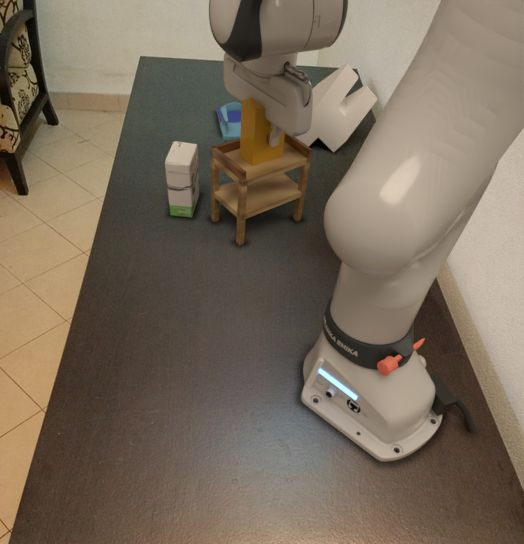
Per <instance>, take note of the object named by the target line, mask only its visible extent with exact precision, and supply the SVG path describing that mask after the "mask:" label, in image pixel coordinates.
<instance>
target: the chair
mask: <svg viewBox="0 0 524 544" xmlns="http://www.w3.org/2000/svg"><path fill="white" fill-rule="evenodd" d="M220 107H221V108H220V111H221V114H222V118H223V120H222V122H220V123H219V128H220V132H221V136H222V142H223V143H225V142H228V141H232V140H235V139H238V138H240V135H241V122H237V123H228V118H227V112H230V111H239V112H241V108H242V102H236V101H234V102H228V103H226V104H224V105H222V106H220Z"/></svg>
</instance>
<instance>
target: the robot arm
mask: <svg viewBox="0 0 524 544" xmlns="http://www.w3.org/2000/svg"><path fill="white" fill-rule="evenodd" d="M348 9H349V0H209V1H208V20H209V26H210V31H211V34H212V37H213V39H214V41H215V42H216V43H217V45H218V46H219V47H220V48H221V50H223V51H224V54H223V62H222V63H223V66H222V67H223V70H222V73H223V77H222V78H223V79H222V80H223V85H224V89H225V91H226V93H228V94H229V95H231V96H232V97H234V98H236V100H238V101H239V102H240V103H242V100H244V99H248V98H251V99H253V100H254V101H256V102H257V103H259V104H260V105H262V106H263V107H265V109H264V118H265V119H267V120H268V121H270V122H271V128H272V129H273V130H272V132H271V134H267V137H266V139H267V140H266V143H267V144H268V145H270V146H271V147H275V146H277V145H278V144H279V137H280V135H281V134H282V132H283V131H284V132H285V133H287V134H288V135H290V136H291V137H296V136H299V135H302V134H305V133H307V132H308V131H309V130H310V128H311V122H312V108H313V93H312V89H313V85H312V83H311V80H310V79H309V75H308V73H307V72H306V71H304V70H300V69H299V68H298V67H297V62H298V53H303V52H304V53H306V52H313V51H320V50H324V49H326V48H327V49H328V48H330V47H332V46H333V45H334V43H336V41H337V40H338V39H339V37H340V36H341V34H342V31H343V29H344V27H345V24H346V20H347V15H348ZM523 129H524V0H440V1H439V4H438V7H437V9H436V11H435V13H434V15H433V17H432V20H431V21H430V24H429V27H428V29H427V31H426V33H425V35H424V37H423V39H422V42H421V43H420V45H419V47H418V49H417V51H416V53H415V55H414V57H413V58H412V60H411V62H410V64H409V65H408V67H407V68H406V71H405V72H404V74H403V75H402V77H401V78H400V80H399V82H398V84H397V85H396V87H395V88H394V89H393V91H392V93H391V95H390V97H389V98H388V100H387V102H386V103H385V105H384V107H383V108H382V110H381V112H380V113H379V115H378V117H377V119H375V122H374V124H373V126H372V128H371V129H370V131H369V132H368V135H367V136H366V139H365V140H364V142H363V144H362V145H361V148H360V150H359V151H358V153H357V154H356V157H355V158H354V160H353V162H352V164H351V165H350V167H349V168H348V170H347V171H346V173H345V174H344V176H343V177H342V179H341V180H340V181H339V183H338V184H337V186H336V187H335V188H334V190H333V192H332V193H331V195H330V197H329V198H328V200H327V202H326V203H325V207H324V211H323V229H324V232H325V237H326V239H327V242H328V244H329V246H330V248H331V250H332V251H333V252H334V254H335V255H336V257H337V258H338V259H339V260H340V261H341V264H340V267H339V271H338V275H337V278H336V282H335V286H334V289H333V293H332V295H331V296H330V298H329V299H328V301H327V304H326V308H325V311H324V314H323V318H322V323H321V324H322V325H321V326H322V329H321V332H320V334H319V336H318V338H317V340H316V341H315V343H314V345H313V347H312V348H311V349H310V350H309V352H308V353H307V354H306V357H305V359H304V361H303V366H302V374H303V381H304V383H303V387H302V390H301V394H300V401H301V403H302V404H303V405H304V406H306V407H307V408H309V410H311V411H313V412H314V414H316V415H317V416H319V417H320V418H322V419H323V420H324V421H325V422H326V423H328V424H330V425H331V426H332V427H333V428H335V429H336V430H337V431H339V433H342V434H343V435H344V436H345V437H347V438H348V439H349V440H351V441H352V442H353V443H355V444H356V445H357V446H358V447H359V448H361V449H362V450H363V451H365V452H366V453H367V454H369V455H370V456H372V457H373V458H374V459H375V460H377V461H379V462H383V463H384V462H394V461H399V460H401V459H402V460H403V459H404V458H406V457H408V456H410V455H412V454H414V453H415V452H416V451H418V450H419V449H421V448H422V447H423V446H424V445H426V444H427V443H428V442H429V441H430V440H431V439H432V437H434V435H435V434H436V432H437V431H438V429H439V427H440V425H441V423H442V421H443V415H444V414H447V413H450V412H451V411H452V409H453V408H454V406H456V407H457V408H458V409H459V410H460V412H461V413H462V416H463V417H464V420H465V423H466V427H467V430H468V432H470V433H472V432H475V431H476V427H475V423H474V421H473V418H472V415H471V413H470V411H469V410H468V407H467V406H466V405H465V403H464V402H463V401H462V400H461V399H459V397H457V396H456V395H454V393H453V391H452V390H451V389H450V388H449V387H448V385H447V383H445V381H444V380H443V378H442V377H441V376H440V375H439V374H438V372H435V373H433V374H429V372H428V370H427V361H426V359H425V357H424V356H422V355H420V354H418V351H417V350H419V348H421V346H422V345H423V343H424V341H425V340H426V338H425V337H423V338H421V339H419V340H418V341H417V342H415V325H414V321H415V319H416V317H417V315H418V313H419V311H420V309H421V307H422V305H423V303H424V301H425V298H426V296H427V295H428V292H429V290H430V289H431V287H432V285H433V284H434V282H435V280H436V278H437V276H438V274H439V273H440V272H441V270H442V268H443V266H444V264H445V263H446V261H447V260H448V258H449V257H450V254H451V252H452V251H453V250H454V248H455V246H456V244H457V242H458V241H459V239H460V237H461V235H463V232H464V230H465V228H466V226H467V225H468V223H469V221H470V219H471V218H472V216H473V214H474V212H475V210H476V208H477V207H478V205H479V204H480V201H481V200H482V198H483V196H484V194H485V193H486V191H487V189H488V187H489V185H490V183H491V181H492V179H493V177H494V175H495V172H496V169H497V167H498V164H499V161H500V160H501V159H502V157H503V156H504V155H505V153H506V152H507V151H508V149H510V147H511V146H512V144H513V143H514V142H515V141H516V139H517V137H518V136H519V135H520V134H521V132H522V131H523ZM396 451H397V452H396Z"/></svg>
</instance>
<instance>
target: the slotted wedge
mask: <svg viewBox="0 0 524 544" xmlns="http://www.w3.org/2000/svg"><path fill="white" fill-rule="evenodd" d="M358 80H359V75H358V74H357V73H356V72H355V71H354V69H353V68H352V67H351V66H350V65H349V64H348V63H347V62H346V63H344V64H343V65H341V66H340V67H339V68H337V69H336V70H335V71H333V72H332V73H330V74H329V75H328V76H326V77H325V78H323V79H322V80H321V81H319V82H318V83H316V85H315V86H314V87H312V93H313V108H312V122H311V128H310V130H309V131H308V132H307V133H305V134H302V135H299V136H296V137H295V138H297V139H298V140H300V141H301V142H303V143H304V144H306V145H307V146H309V147H310V146H311V145H312V144H313V143H314V142H315V141H317V139H319V140H320V141H321V142H322V143H323V144H324V145H325V146H327V148H328V149H329V150H330V151H331V152H332V153H335V152H336V151H337V150H338V149H339V148H341V147H342V145H344V144H345V143H346V142H347V141H348V139H349V138H350V137H351V135H352V134H353V133H354V131H355V130H356V129H357V127H358V126H359V125H360V123H361V122H362V121H363V119H364V118H365V117H366V115H367V114H368V113H369V112H370V110H371V109H372V108H373V107H374V105H375V104H376V103H377V101H378V97H377V96H376V94H375V93H374V92H373V91H372V90H371V89H370V87H368V85H367V84H365V85H363V86H362V87H359V89H356V90H355V91H354V92H352V93H351V94H349V95H348V93H349V92H350V91H351V89H352V88H353V87H354V85H355V84H356V83H357V82H358ZM347 95H348V96H347Z"/></svg>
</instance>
